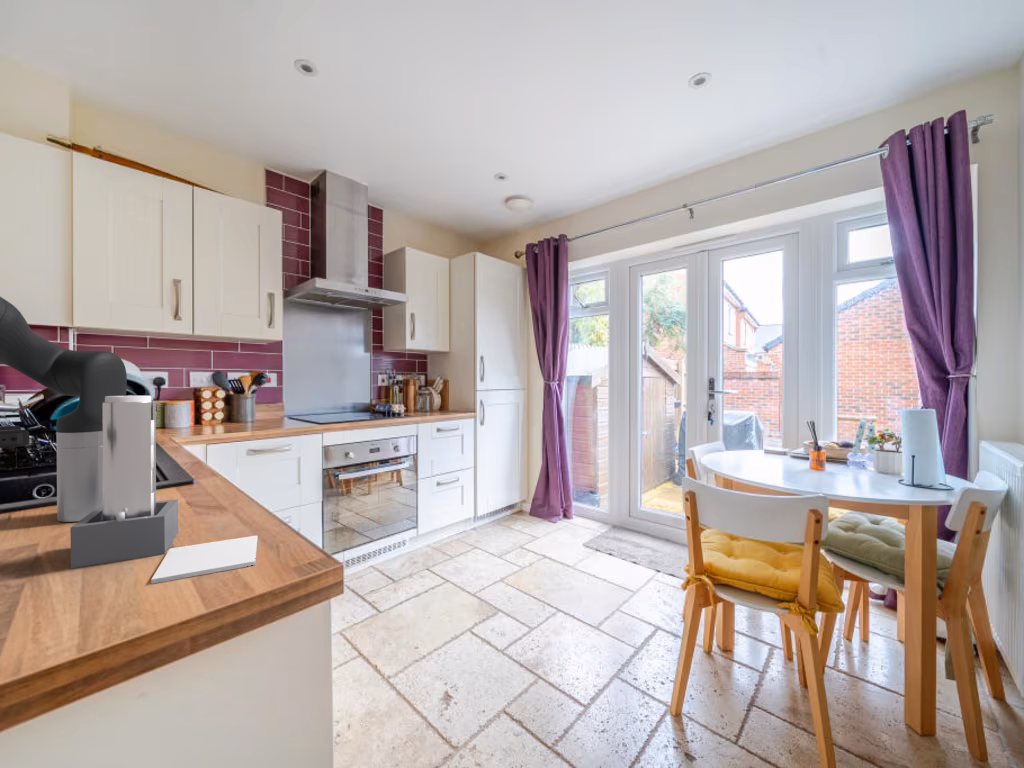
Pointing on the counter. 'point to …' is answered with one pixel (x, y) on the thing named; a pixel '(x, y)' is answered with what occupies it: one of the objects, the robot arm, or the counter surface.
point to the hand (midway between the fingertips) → (24, 435)
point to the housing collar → (123, 536)
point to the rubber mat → (206, 558)
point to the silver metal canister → (129, 456)
